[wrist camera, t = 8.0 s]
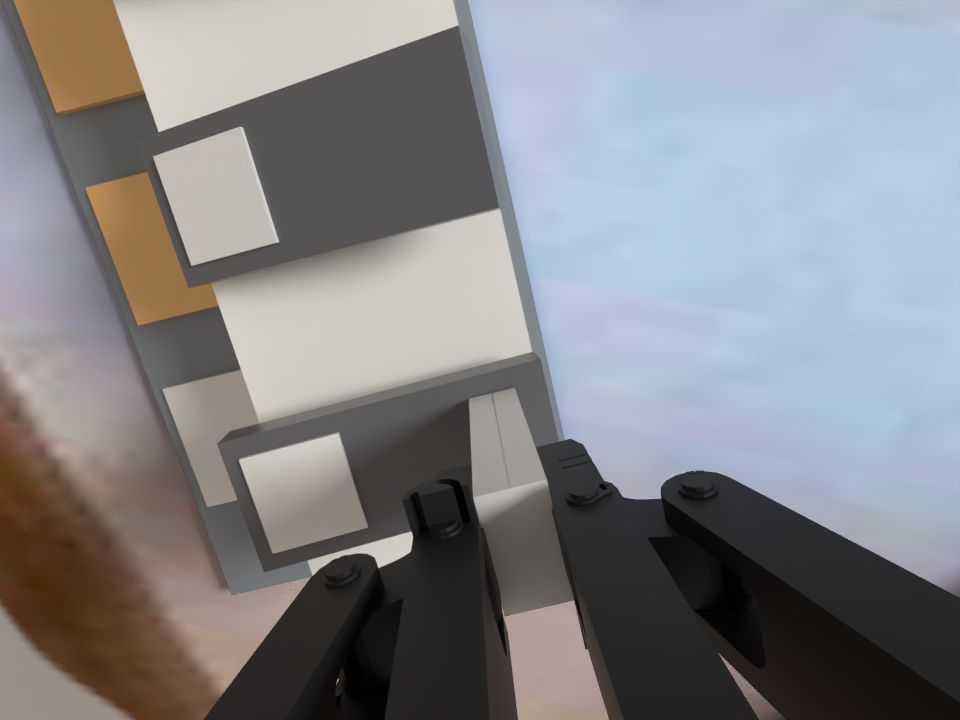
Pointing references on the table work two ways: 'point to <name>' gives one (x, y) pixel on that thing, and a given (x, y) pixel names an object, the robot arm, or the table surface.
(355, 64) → the middle rocker
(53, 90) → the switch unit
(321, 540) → the block
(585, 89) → the table surface
